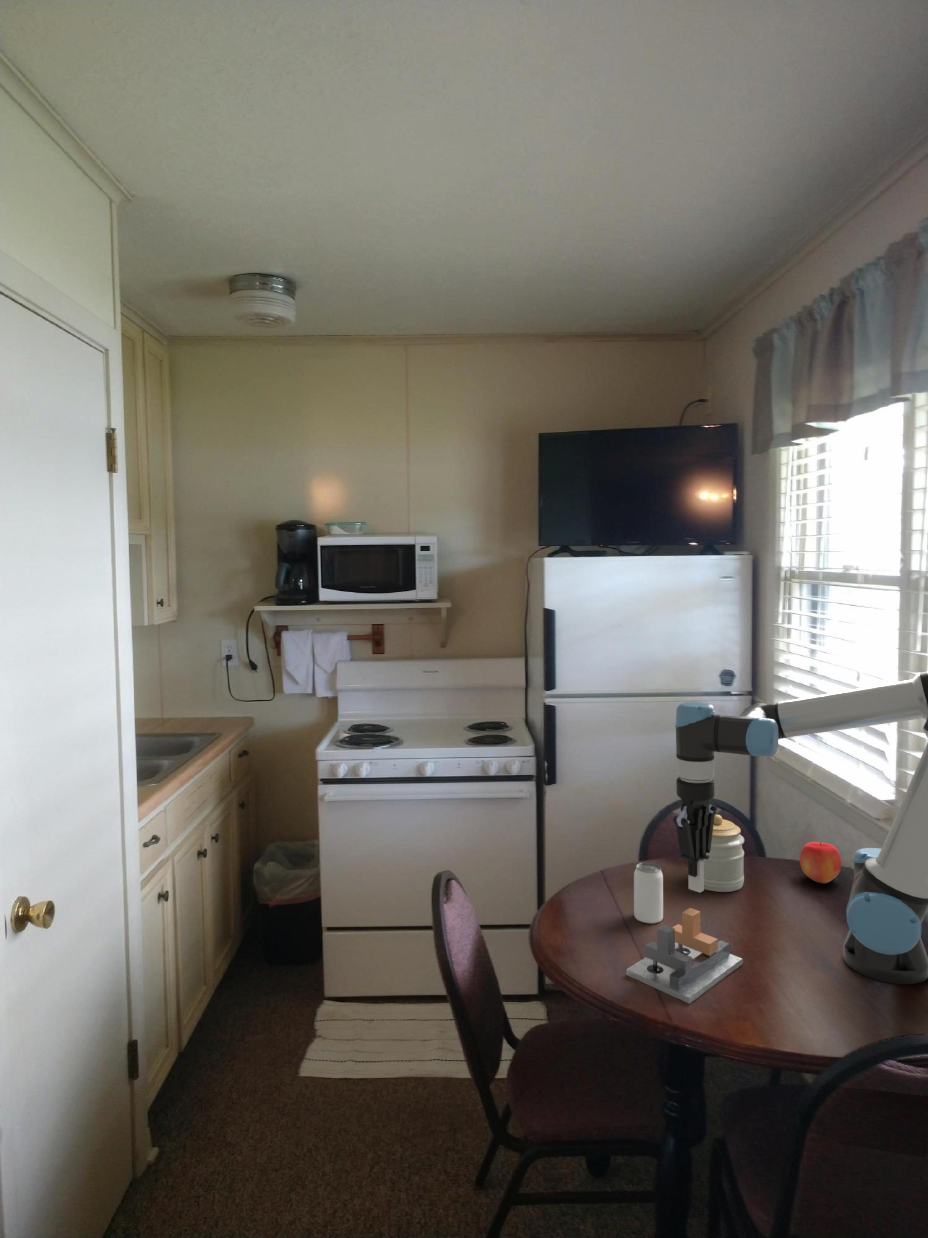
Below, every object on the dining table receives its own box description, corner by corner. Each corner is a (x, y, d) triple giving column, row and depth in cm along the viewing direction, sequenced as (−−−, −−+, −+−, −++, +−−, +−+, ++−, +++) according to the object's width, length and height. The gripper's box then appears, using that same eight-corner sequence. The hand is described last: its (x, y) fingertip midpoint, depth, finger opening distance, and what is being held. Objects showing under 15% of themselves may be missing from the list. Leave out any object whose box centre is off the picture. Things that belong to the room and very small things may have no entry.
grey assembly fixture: (742, 964, 154) (742, 914, 154) (689, 1004, 141) (689, 949, 140) (681, 940, 165) (681, 893, 164) (626, 975, 151) (626, 924, 150)
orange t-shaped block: (717, 961, 152) (717, 917, 152) (709, 967, 150) (709, 922, 150) (678, 945, 159) (677, 903, 158) (670, 950, 157) (669, 908, 156)
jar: (683, 886, 192) (683, 817, 191) (699, 868, 203) (699, 804, 202) (736, 897, 185) (736, 826, 184) (750, 879, 196) (750, 812, 195)
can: (663, 925, 172) (663, 873, 171) (634, 923, 173) (634, 872, 172) (662, 912, 178) (662, 862, 177) (633, 910, 179) (633, 861, 178)
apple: (848, 889, 189) (849, 849, 188) (809, 889, 189) (810, 850, 188) (830, 873, 198) (830, 835, 198) (793, 874, 198) (793, 836, 198)
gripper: (696, 768, 164) (697, 875, 165) (661, 781, 155) (662, 893, 157) (728, 775, 158) (729, 885, 160) (694, 788, 150) (695, 905, 151)
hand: (696, 889), depth 158 cm, fingers closed
